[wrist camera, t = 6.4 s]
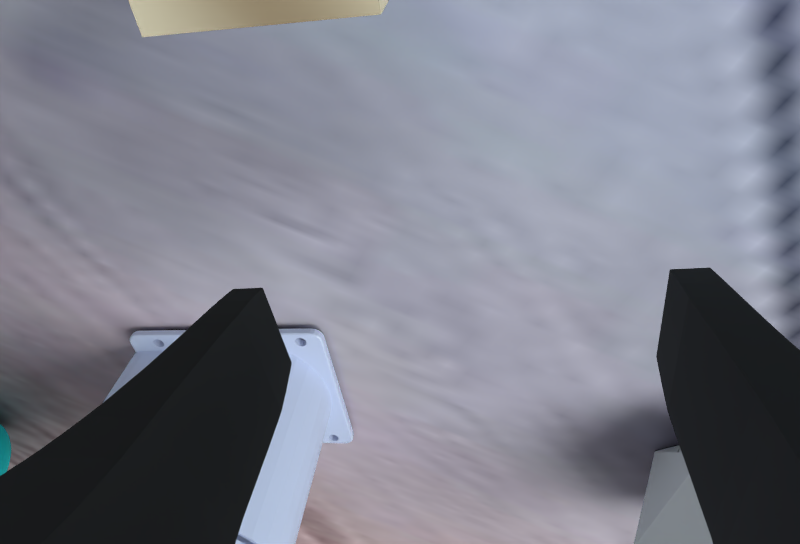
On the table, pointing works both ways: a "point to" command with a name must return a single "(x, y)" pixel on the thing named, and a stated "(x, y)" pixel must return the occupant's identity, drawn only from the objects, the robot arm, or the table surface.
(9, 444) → the donuts
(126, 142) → the table surface
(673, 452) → the die
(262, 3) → the beech cube
